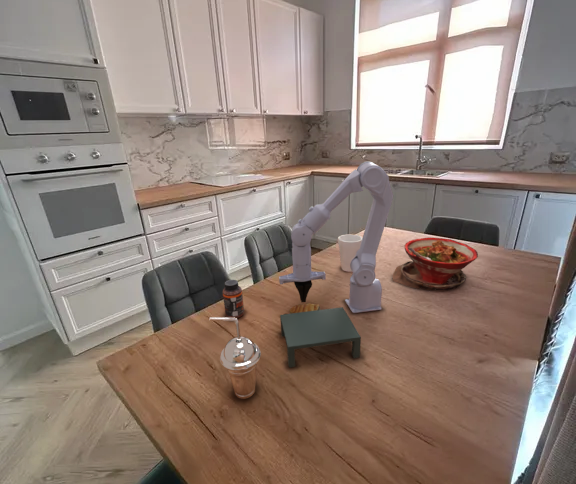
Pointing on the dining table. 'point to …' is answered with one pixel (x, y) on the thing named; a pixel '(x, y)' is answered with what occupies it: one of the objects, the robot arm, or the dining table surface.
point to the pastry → (304, 308)
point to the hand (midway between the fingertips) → (303, 300)
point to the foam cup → (348, 249)
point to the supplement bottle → (233, 299)
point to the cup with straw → (240, 361)
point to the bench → (318, 330)
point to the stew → (434, 263)
